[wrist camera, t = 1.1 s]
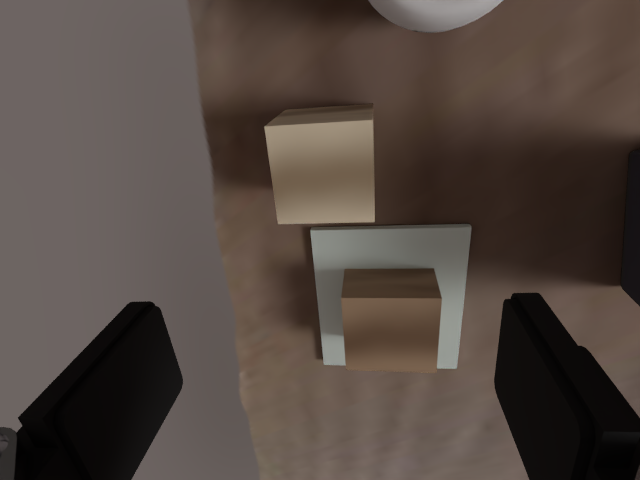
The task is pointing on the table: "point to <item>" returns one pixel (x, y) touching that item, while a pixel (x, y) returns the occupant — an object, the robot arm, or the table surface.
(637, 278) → the black upright slab
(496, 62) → the table surface
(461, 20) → the mug
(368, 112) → the maple cube
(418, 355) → the walnut block
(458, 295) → the board
